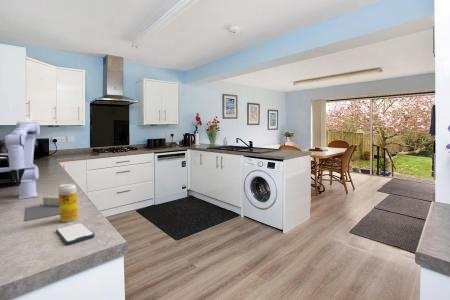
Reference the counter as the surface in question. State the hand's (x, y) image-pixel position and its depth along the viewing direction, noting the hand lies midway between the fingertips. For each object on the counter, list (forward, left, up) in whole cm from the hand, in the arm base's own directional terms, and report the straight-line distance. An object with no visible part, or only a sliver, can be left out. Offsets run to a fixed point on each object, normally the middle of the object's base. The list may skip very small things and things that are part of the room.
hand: (18, 184), depth 117 cm
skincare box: (+10, +11, -7) cm, 17 cm away
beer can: (+41, +17, -10) cm, 46 cm away
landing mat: (+21, +10, -10) cm, 25 cm away
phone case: (+58, +17, -11) cm, 61 cm away
